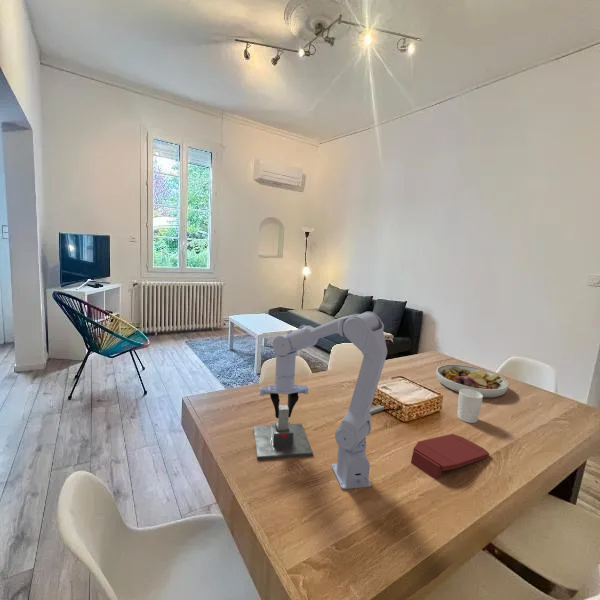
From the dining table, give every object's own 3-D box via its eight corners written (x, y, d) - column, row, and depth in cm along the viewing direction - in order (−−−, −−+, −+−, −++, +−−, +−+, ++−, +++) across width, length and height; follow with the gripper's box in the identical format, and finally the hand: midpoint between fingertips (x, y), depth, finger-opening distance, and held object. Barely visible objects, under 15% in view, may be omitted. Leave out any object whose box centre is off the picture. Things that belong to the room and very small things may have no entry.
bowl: (437, 369, 177) (439, 355, 176) (503, 382, 164) (505, 367, 163) (432, 390, 150) (434, 373, 149) (510, 407, 138) (513, 389, 136)
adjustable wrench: (350, 422, 119) (351, 417, 118) (340, 414, 124) (340, 409, 124) (401, 408, 131) (402, 404, 131) (389, 401, 137) (390, 397, 136)
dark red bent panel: (451, 447, 113) (405, 459, 99) (454, 433, 113) (408, 443, 99) (487, 467, 104) (442, 484, 89) (491, 452, 103) (446, 467, 89)
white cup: (454, 420, 124) (458, 394, 122) (456, 411, 131) (459, 387, 129) (479, 426, 120) (483, 400, 119) (479, 417, 127) (483, 392, 126)
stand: (312, 455, 98) (313, 441, 97) (257, 459, 95) (258, 445, 94) (301, 426, 113) (302, 413, 113) (253, 428, 110) (254, 416, 109)
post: (287, 434, 102) (289, 409, 101) (277, 434, 102) (278, 409, 100) (286, 428, 105) (287, 404, 104) (276, 429, 105) (277, 404, 103)
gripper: (305, 368, 106) (303, 408, 108) (259, 369, 103) (257, 410, 105) (311, 377, 99) (308, 419, 101) (261, 378, 96) (259, 422, 98)
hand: (282, 416), depth 103 cm, fingers closed on post, 3 cm apart
